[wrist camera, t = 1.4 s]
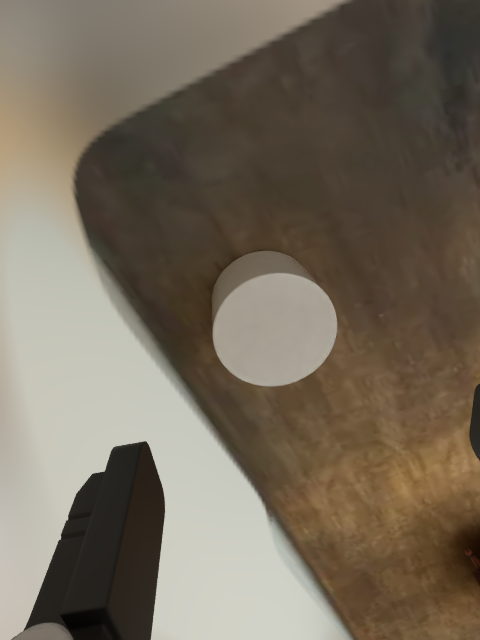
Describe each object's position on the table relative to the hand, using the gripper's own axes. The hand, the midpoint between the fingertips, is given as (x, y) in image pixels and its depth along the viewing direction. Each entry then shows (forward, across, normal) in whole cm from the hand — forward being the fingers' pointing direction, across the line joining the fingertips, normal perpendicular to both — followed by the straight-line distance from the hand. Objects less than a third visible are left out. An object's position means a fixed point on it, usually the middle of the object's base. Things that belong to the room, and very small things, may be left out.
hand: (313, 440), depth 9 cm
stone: (+9, 0, 0) cm, 9 cm away
